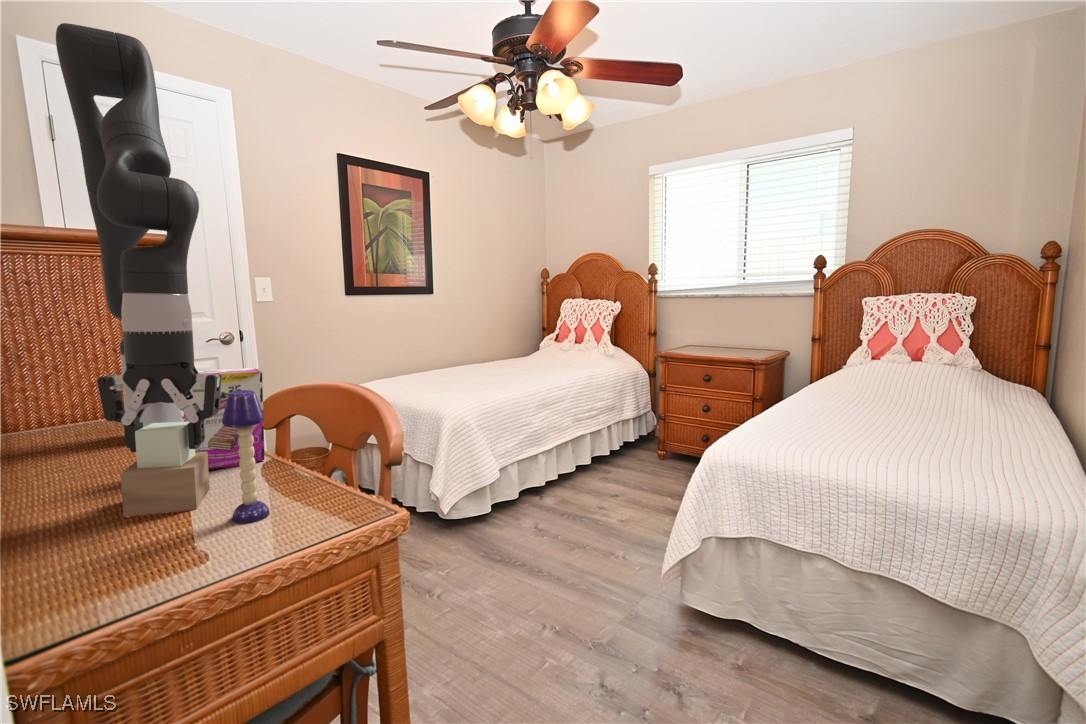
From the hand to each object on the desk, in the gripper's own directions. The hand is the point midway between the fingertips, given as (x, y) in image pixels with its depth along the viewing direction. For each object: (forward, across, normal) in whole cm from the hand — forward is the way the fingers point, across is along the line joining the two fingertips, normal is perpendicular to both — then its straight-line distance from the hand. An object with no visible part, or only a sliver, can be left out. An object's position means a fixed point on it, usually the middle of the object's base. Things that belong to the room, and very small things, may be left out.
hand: (166, 448), depth 71 cm
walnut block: (+8, 0, 0) cm, 8 cm away
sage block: (+2, 0, 0) cm, 2 cm away
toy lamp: (+8, -12, +8) cm, 16 cm away
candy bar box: (+8, -2, -17) cm, 19 cm away
